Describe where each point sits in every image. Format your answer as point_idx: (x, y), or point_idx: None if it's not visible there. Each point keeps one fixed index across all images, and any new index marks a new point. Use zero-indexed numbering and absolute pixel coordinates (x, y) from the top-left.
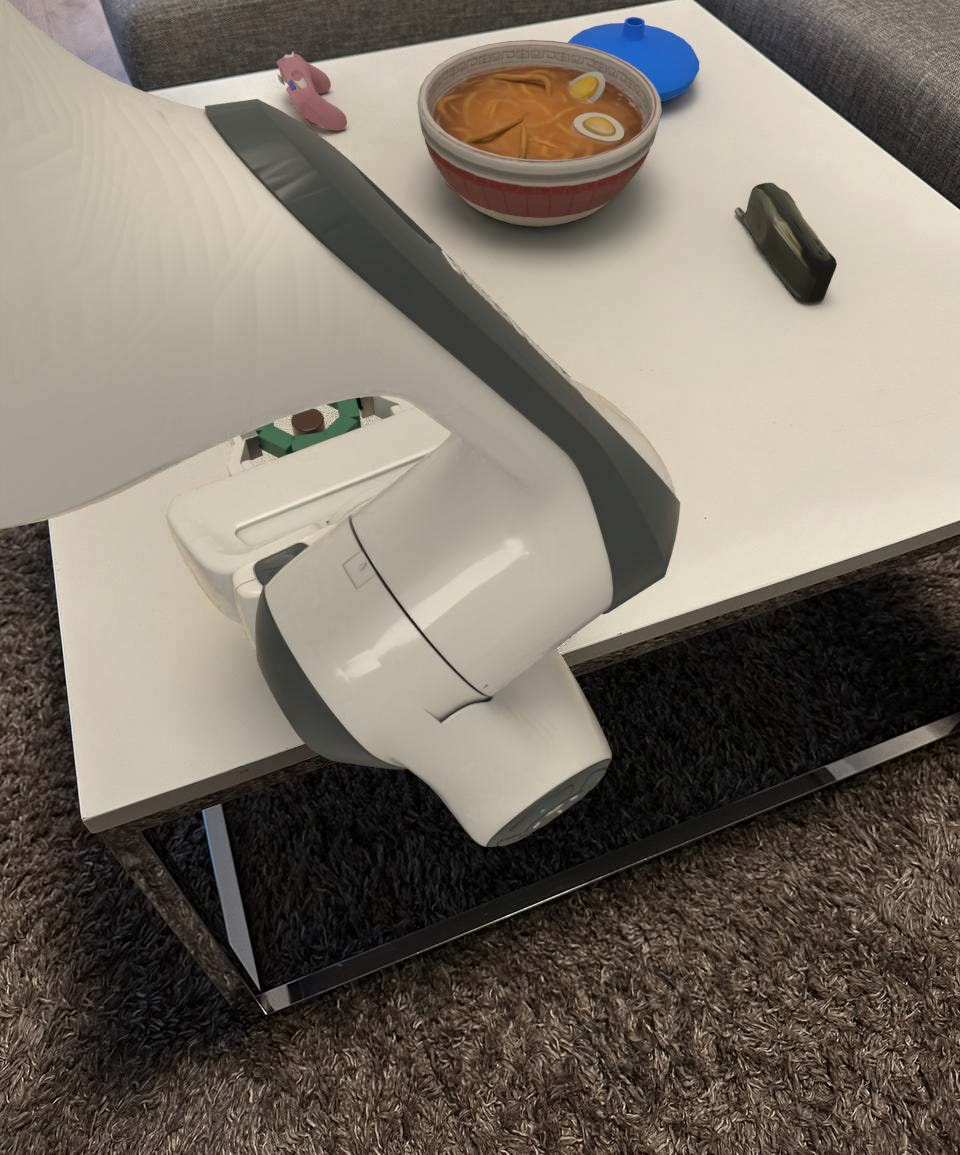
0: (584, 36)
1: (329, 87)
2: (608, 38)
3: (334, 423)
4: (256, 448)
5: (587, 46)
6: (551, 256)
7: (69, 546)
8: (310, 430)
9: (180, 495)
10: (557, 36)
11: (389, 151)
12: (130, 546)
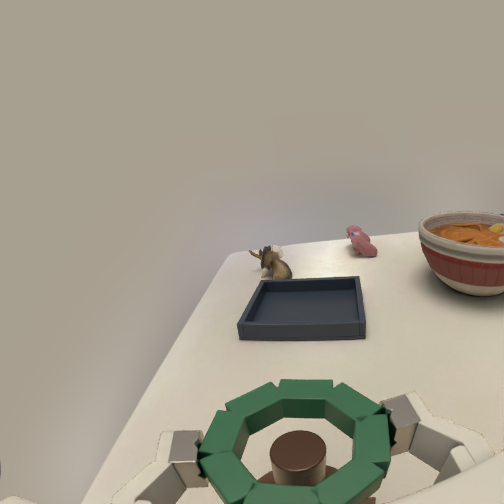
0: None
1: (369, 242)
2: None
3: (340, 472)
4: (194, 477)
5: None
6: (494, 311)
7: (112, 457)
8: (295, 472)
9: (14, 498)
10: None
11: (398, 264)
12: None
